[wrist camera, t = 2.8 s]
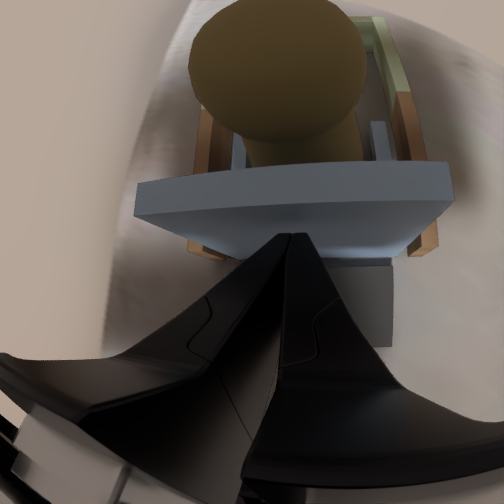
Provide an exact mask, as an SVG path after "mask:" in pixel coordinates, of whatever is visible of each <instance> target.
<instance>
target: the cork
mask: <svg viewBox="0 0 504 504" xmlns="http://www.w3.org/2000/svg"><path fill="white" fill-rule="evenodd" d="M188 70H189V74H190V79H191V83H192V86H193V89H194V92H195V96H196V98H197V99H198V100H199V101H200V103H201V104H202V105H203V106H204V107H205V109H206V110H207V111H208V112H209V113H210V115H211V116H212V117H213V118H214V119H215V121H216V122H217V123H219V124H220V125H222V126H224V127H225V128H227V129H229V130H231V131H233V132H234V133H236V134H238V135H240V136H241V138H242V140H243V143H244V146H245V148H246V151H247V154H248V156H249V159H250V162H251V164H252V167H253V168H256V167H267V166H278V165H292V164H307V163H325V162H348V161H365V158H364V152H363V147H362V142H361V137H360V133H359V128H358V124H357V119H356V115H355V110H354V106H355V105H356V103H357V102H358V100H359V98H360V96H361V93H362V91H363V87H364V83H365V78H366V74H367V55H366V51H365V48H364V44H363V40H362V38H361V35H360V33H359V30H358V28H357V27H356V25H355V24H354V23H353V22H352V21H351V20H350V19H349V18H348V17H347V15H346V14H345V13H344V12H343V11H342V10H341V9H340V8H338V7H337V6H336V5H335V4H333V3H331V2H329V1H327V0H238V1H236V2H235V3H233V4H231V5H229V6H227V7H226V8H224V9H222V10H221V11H219V12H218V13H217V14H215V15H214V16H213V17H212V18H211V19H210V20H209V21H207V22H206V23H205V24H204V25H203V26H202V28H201V29H200V31H199V32H198V34H197V35H196V37H195V38H194V40H193V44H192V48H191V52H190V57H189V64H188Z"/></svg>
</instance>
